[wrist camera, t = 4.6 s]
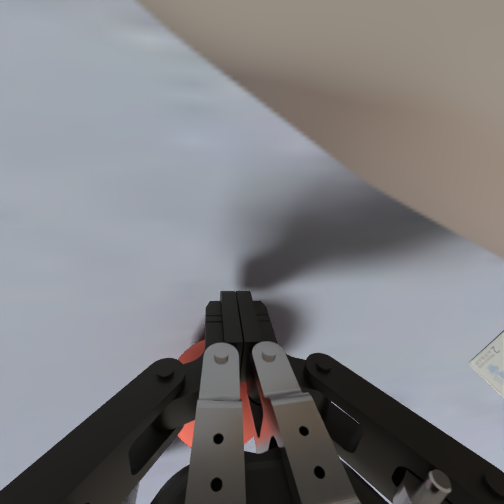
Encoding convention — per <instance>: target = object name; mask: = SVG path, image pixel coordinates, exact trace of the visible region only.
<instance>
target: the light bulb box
mask: <svg viewBox="0 0 504 504" xmlns="http://www.w3.org/2000/svg"><path fill="white" fill-rule="evenodd" d="M469 365H470V366H471V367H472V368H473V369H474V370H475V371H476V372H477V373H478V374H479V375H480V376H481V377H482V378H483V379H484V380H485V381H486V382H488V383H489V384H490V385H491V386H492V387H493V388H494V389H495V390H496V391H497V392H498V393H499V394H500V395H501V396H502V397H503V398H504V332H502V333H501V334H500V335H499V336H498V337H497V338H496V339H495V340H494V341H492V342H491V343H490V344H489V345H488V346H487V347H486V348H485V349H483V350H482V351H481V352H480V353H479V354H478V355H477V356H476V357H475V358H474V359H472V360H471V361H470V362H469Z"/></svg>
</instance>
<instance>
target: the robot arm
mask: <svg viewBox="0 0 504 504" xmlns="http://www.w3.org/2000/svg"><path fill="white" fill-rule="evenodd" d="M240 382H246V385H247V393H246V402H247V406H248V411H249V416H250V420H251V425H252V430H253V434H254V439H255V444H256V453H252V452H246V451H244V436H243V410H242V399H240ZM331 401H332V402H333V403H335V404H336V405H337V406H338V407H340V408H341V409H342V410H344V411H345V412H346V413H347V414H349V415H350V416H351V417H353V418H354V419H355V420H356V421H358V422H359V424H358V423H357V422H356V421H355V420H353V419H352V418H351V417H349V416H348V415H347V414H346V413H344V412H343V411H342V410H340V409H339V408H338V407H337V406H335V405H334V404H333V403H331ZM194 420H195V424H194V432H193V441H192V449H191V457H190V464H189V465H188V466H186V467H184V468H182V469H181V470H180V471H178V472H177V473H176V474H175V475H173V476H172V477H171V478H170V479H169V480H168V481H167V482H166V484H165V485H164V486H163V487H162V488H161V489H160V491H159V492H158V493H157V495H156V496H155V498H154V499H153V501H152V502H151V503H150V504H389V503H388V502H387V501H385V500H384V499H383V498H382V497H381V496H380V495H379V494H378V493H377V492H376V491H375V490H374V489H373V488H372V487H371V486H370V485H369V484H367V483H366V482H365V481H364V480H363V479H362V478H361V477H360V476H359V475H358V474H357V473H356V472H355V471H354V470H356V471H357V472H358V473H359V474H360V475H361V476H362V477H363V478H365V479H366V480H367V481H368V482H369V483H370V484H371V485H372V486H374V487H375V488H376V489H377V490H378V491H379V492H380V493H381V494H383V495H384V496H385V497H386V498H387V499H388V500H389V501H390V502H392V503H393V504H504V473H503V472H502V471H501V470H500V469H498V468H497V467H495V466H494V465H492V464H491V463H489V462H488V461H486V460H485V459H483V458H482V457H480V456H479V455H477V454H476V453H474V452H473V451H471V450H470V449H468V448H467V447H465V446H464V445H462V444H461V443H459V442H458V441H456V440H455V439H453V438H452V437H450V436H449V435H447V434H446V433H444V432H443V431H441V430H440V429H438V428H437V427H435V426H434V425H432V424H431V423H429V422H428V421H426V420H425V419H423V418H422V417H420V416H419V415H417V414H416V413H414V412H413V411H411V410H410V409H408V408H407V407H405V406H404V405H402V404H401V403H399V402H398V401H396V400H395V399H393V398H392V397H390V396H389V395H387V394H386V393H384V392H383V391H381V390H380V389H378V388H377V387H375V386H374V385H372V384H371V383H369V382H368V381H366V380H365V379H363V378H362V377H360V376H359V375H357V374H356V373H354V372H353V371H351V370H350V369H348V368H347V367H345V366H344V365H342V364H341V363H339V362H338V361H336V360H335V359H333V358H332V357H330V356H328V355H326V354H322V353H314V354H311V355H309V356H308V357H307V359H306V360H303V359H299V358H294V357H291V356H289V355H287V354H286V353H285V351H284V350H283V348H282V347H281V346H279V345H278V344H277V341H276V338H275V335H274V331H273V328H272V325H271V322H270V318H269V316H268V312H267V308H266V306H265V305H264V304H263V303H262V302H261V301H253V300H252V296H251V292H250V291H236V292H235V291H221V292H220V301H210V302H209V304H208V305H207V307H206V318H205V350H204V352H203V354H202V355H201V356H200V357H199V358H197V359H196V360H194V361H191V362H189V363H185V364H182V363H181V362H180V361H179V360H177V359H173V358H164V359H160V360H158V361H156V362H154V363H153V364H151V365H150V366H149V367H148V368H147V369H145V370H144V371H143V372H142V373H141V374H140V375H138V376H137V377H136V378H135V379H134V380H132V381H131V382H130V383H129V384H128V385H126V386H125V387H124V388H123V389H122V390H120V391H119V392H118V393H117V394H116V395H114V396H113V397H112V398H111V399H110V400H108V401H107V402H106V403H105V404H104V405H102V406H101V407H100V408H99V409H98V410H97V411H95V412H94V413H93V414H92V415H91V416H89V417H88V418H87V419H86V420H85V421H83V422H82V423H81V424H80V425H79V426H77V427H76V428H75V429H74V430H73V431H71V432H70V433H69V434H68V435H67V436H65V437H64V438H63V439H62V440H61V441H59V442H58V443H57V444H56V445H55V446H53V447H52V448H51V449H50V450H49V451H48V452H46V453H45V454H44V455H43V456H42V457H40V458H39V459H38V460H37V461H36V462H34V463H33V464H32V465H31V466H30V467H28V468H27V469H26V470H25V471H24V472H22V473H21V474H20V475H19V476H18V477H16V478H15V479H14V480H13V481H12V482H10V483H9V484H8V485H7V486H6V487H5V488H3V489H2V490H1V491H0V504H121V503H122V502H123V501H124V500H125V499H126V497H127V496H128V495H129V494H130V492H131V491H132V490H133V489H134V488H135V486H136V485H137V484H138V483H139V481H140V480H141V479H142V478H143V477H144V475H145V474H146V473H147V472H148V470H149V469H150V468H151V467H152V466H153V464H154V463H155V462H156V461H157V459H158V458H159V457H160V456H161V455H162V453H163V452H164V451H165V450H166V449H167V447H168V446H169V445H170V444H171V442H172V441H173V440H174V439H175V438H176V436H177V435H178V434H179V433H180V431H181V430H182V429H183V427H184V424H187V423H189V422H191V421H194ZM338 455H339V456H340V457H341V458H342V459H343V460H344V461H346V462H347V463H348V464H349V465H350V466H351V467H352V468H353V469H354V470H353V469H352V468H350V467H349V466H348V465H347V464H346V463H344V462H343V461H342V460H340V458H339V456H338Z"/></svg>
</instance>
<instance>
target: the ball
mask: <svg viewBox="0 0 504 504" xmlns="http://www.w3.org/2000/svg"><path fill="white" fill-rule="evenodd" d="M204 350H205V340H202V341H200V342H198V343H196V344H194V345H193V346H191V347H190V348H189V349H187V350H186V351H185V352H184V353H183V354H182V355H181V356H180V358H179V359H178V360H179V361H180V362H181V363H182V364H185V363H189V362H191V361H194V360H196V359H197V358H199V357H200V356H201V355H202V354H203V352H204ZM246 393H247V385H246V382H240V399H242V410H243V436H244V444H245V443H247V442H248V441H249V440H250V439H251V438H252V437H253V436H254V434H253V430H252V425H251V420H250V416H249V411H248V406H247V402H246ZM194 424H195V420H194V421H191V422H189V423H187V424H184V427H183V429H182V430H181V431H180V433H179V434H178V435H177V436H178V437H179V438H180V439H181V440H182V441H183V442H184V443H186V444H187V445H188V446H189V447H191V448H192V441H193V432H194Z"/></svg>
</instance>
